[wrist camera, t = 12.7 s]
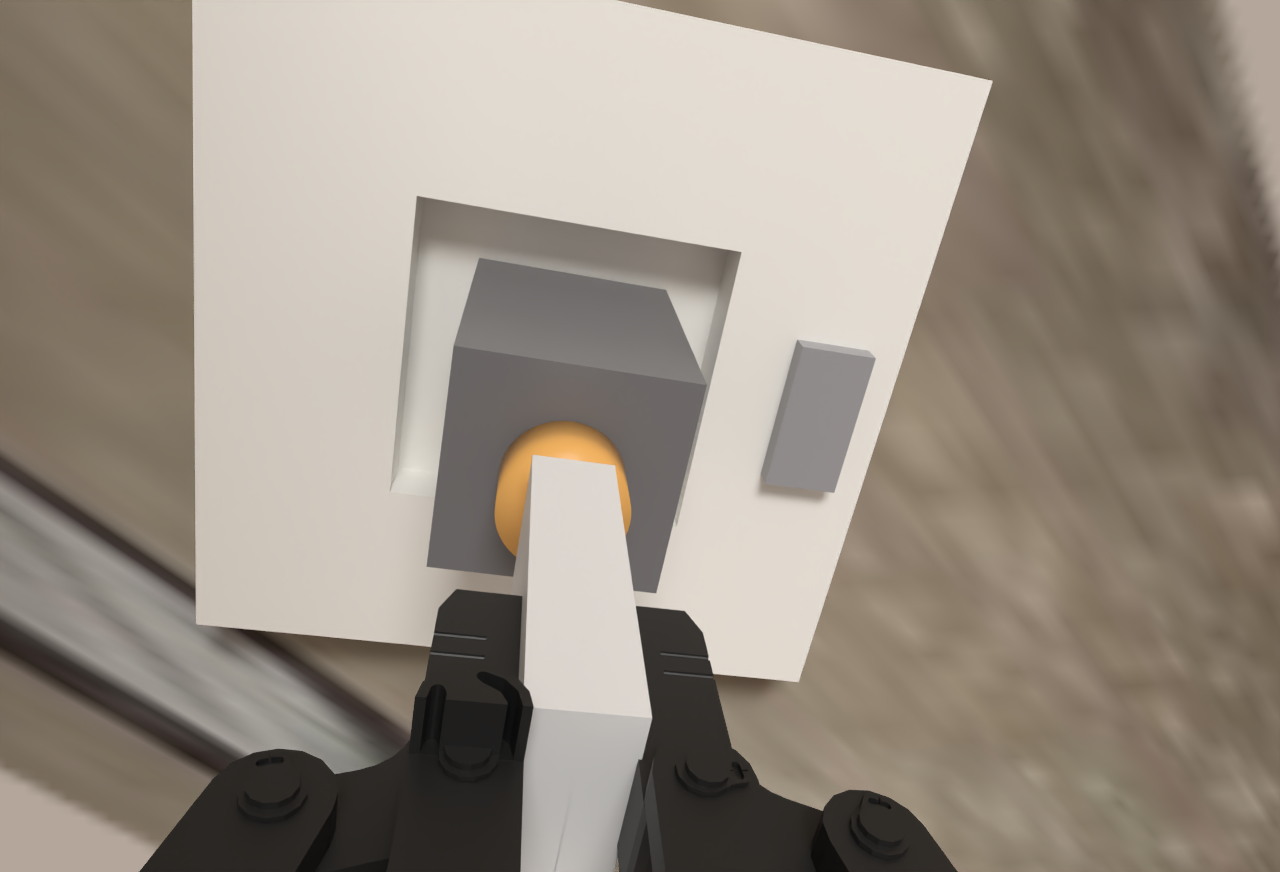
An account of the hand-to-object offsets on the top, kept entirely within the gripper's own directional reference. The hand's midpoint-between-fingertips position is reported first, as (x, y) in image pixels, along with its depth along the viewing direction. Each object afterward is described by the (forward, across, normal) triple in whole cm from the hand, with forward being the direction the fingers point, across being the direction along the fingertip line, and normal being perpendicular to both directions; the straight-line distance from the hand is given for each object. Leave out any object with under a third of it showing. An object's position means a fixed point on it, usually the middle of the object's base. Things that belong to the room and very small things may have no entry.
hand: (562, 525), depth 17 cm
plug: (+9, 0, 0) cm, 9 cm away
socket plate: (+10, 0, 0) cm, 10 cm away
